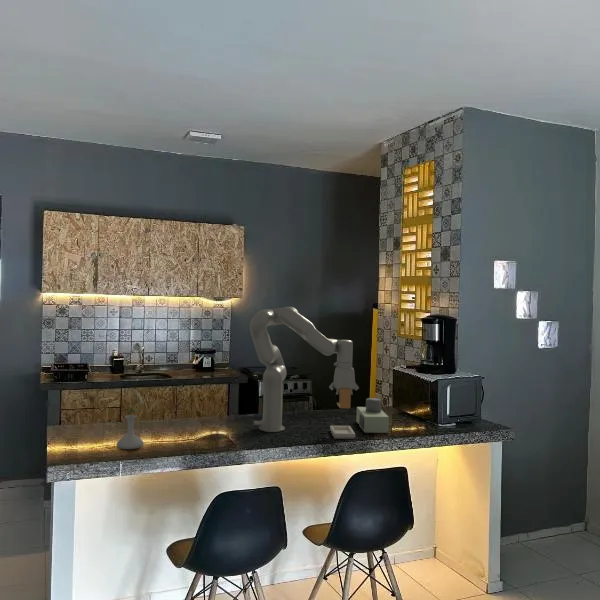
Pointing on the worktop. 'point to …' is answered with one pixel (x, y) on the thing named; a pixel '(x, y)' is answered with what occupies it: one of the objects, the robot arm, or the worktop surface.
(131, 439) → the flower in vase
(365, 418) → the block with top knob
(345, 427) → the frame
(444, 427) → the worktop surface
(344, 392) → the chute block
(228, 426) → the worktop surface
